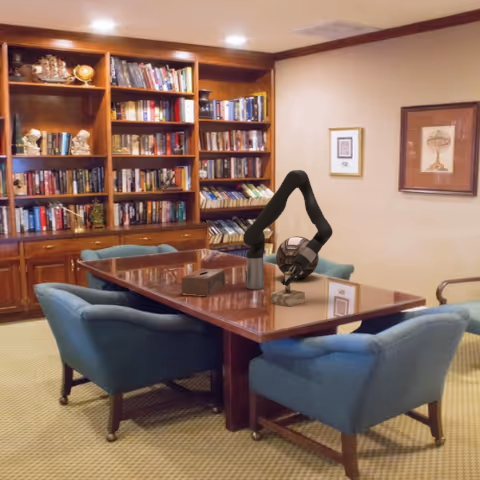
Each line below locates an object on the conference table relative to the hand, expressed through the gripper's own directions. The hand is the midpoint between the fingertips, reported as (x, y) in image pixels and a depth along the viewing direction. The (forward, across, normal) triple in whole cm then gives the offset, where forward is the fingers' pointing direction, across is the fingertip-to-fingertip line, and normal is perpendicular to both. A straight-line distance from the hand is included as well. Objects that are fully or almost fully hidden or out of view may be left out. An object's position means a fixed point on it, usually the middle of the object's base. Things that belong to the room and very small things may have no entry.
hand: (284, 284), depth 299 cm
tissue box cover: (+25, -46, -11) cm, 53 cm away
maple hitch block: (+5, 0, +8) cm, 9 cm away
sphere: (-18, -49, +32) cm, 61 cm away
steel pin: (+1, 0, +4) cm, 4 cm away
